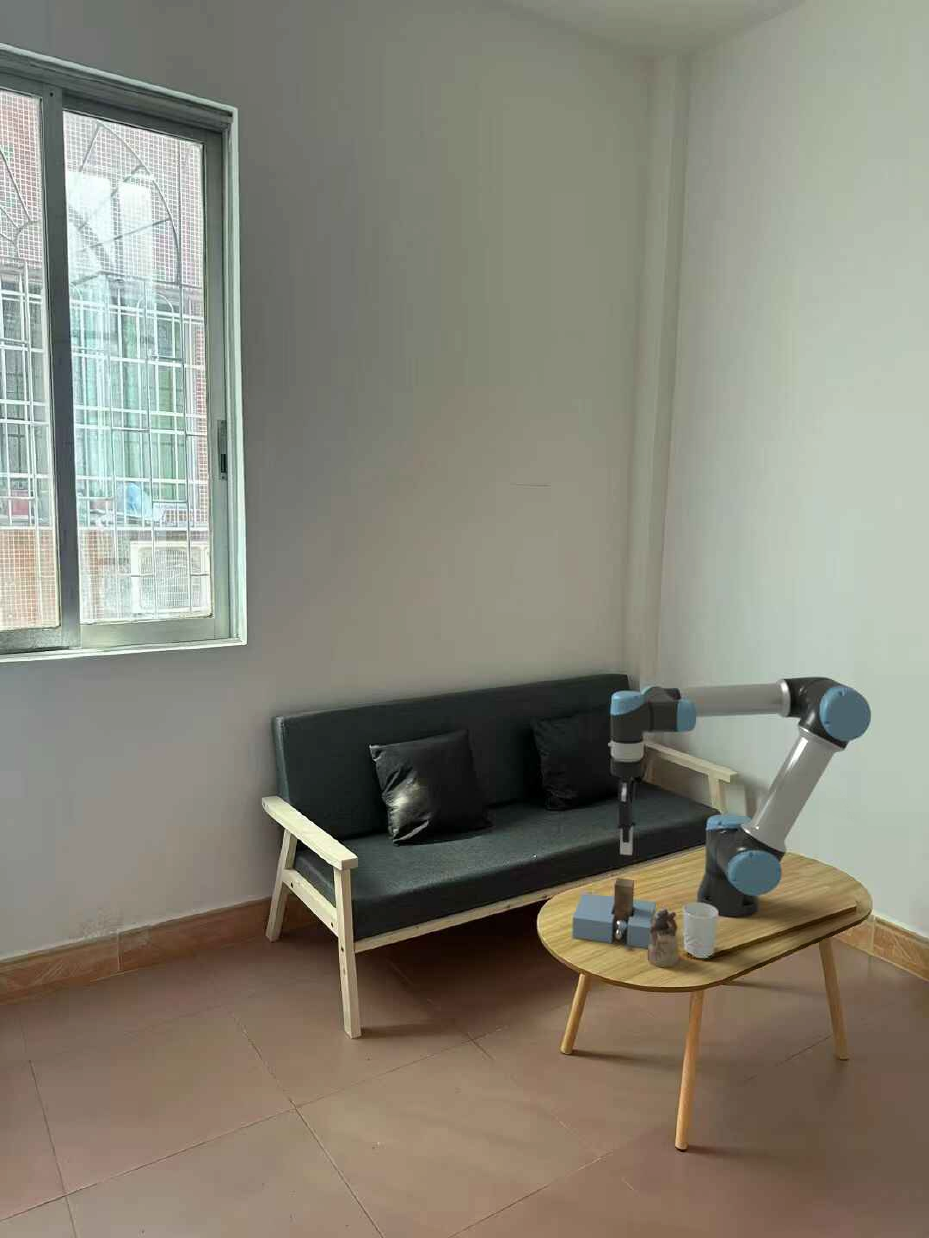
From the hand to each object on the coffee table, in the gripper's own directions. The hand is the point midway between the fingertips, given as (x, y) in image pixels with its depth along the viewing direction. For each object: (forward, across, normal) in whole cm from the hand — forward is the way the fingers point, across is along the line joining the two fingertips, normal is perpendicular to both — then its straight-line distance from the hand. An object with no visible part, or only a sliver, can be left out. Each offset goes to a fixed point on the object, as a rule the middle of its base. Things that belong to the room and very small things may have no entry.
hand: (626, 853), depth 212 cm
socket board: (+19, 0, -3) cm, 20 cm away
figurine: (+20, +12, +10) cm, 25 cm away
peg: (+19, 0, -1) cm, 19 cm away
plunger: (+18, +6, -1) cm, 19 cm away
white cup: (+20, +5, +17) cm, 27 cm away
